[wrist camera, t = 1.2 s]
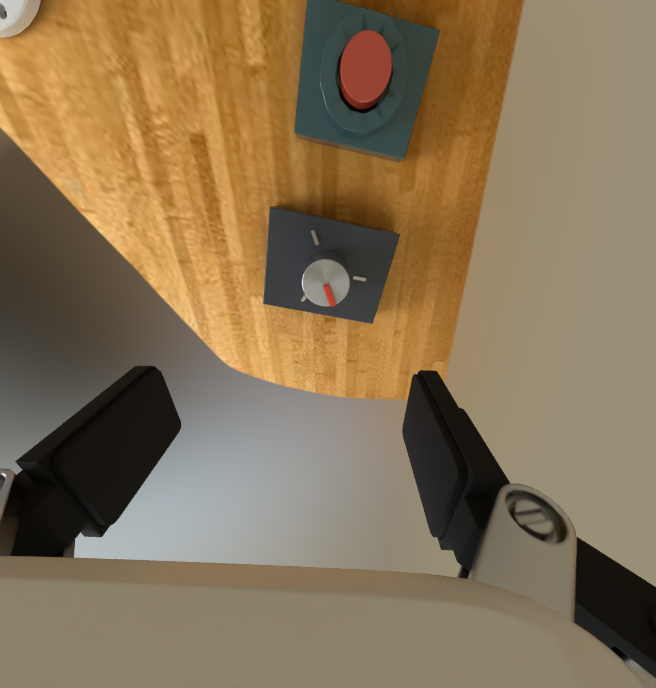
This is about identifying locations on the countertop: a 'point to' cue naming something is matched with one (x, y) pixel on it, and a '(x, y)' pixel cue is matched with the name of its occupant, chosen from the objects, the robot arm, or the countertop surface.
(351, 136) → the teal button housing
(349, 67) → the button
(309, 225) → the plate
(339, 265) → the rotary knob
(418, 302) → the countertop surface
